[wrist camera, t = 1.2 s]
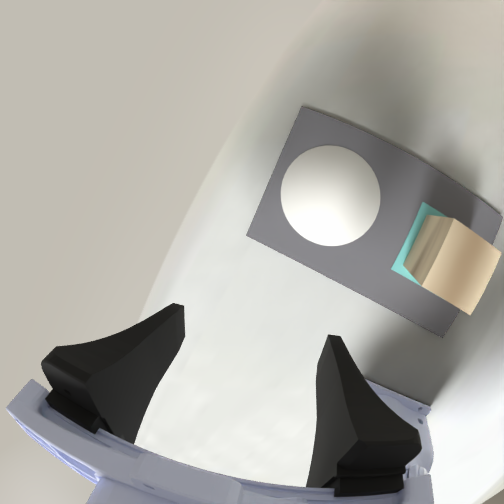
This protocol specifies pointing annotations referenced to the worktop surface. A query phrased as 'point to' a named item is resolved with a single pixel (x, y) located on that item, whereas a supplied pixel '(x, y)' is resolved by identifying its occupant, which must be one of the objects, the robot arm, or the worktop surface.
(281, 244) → the mat
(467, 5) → the worktop surface
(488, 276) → the maple block
